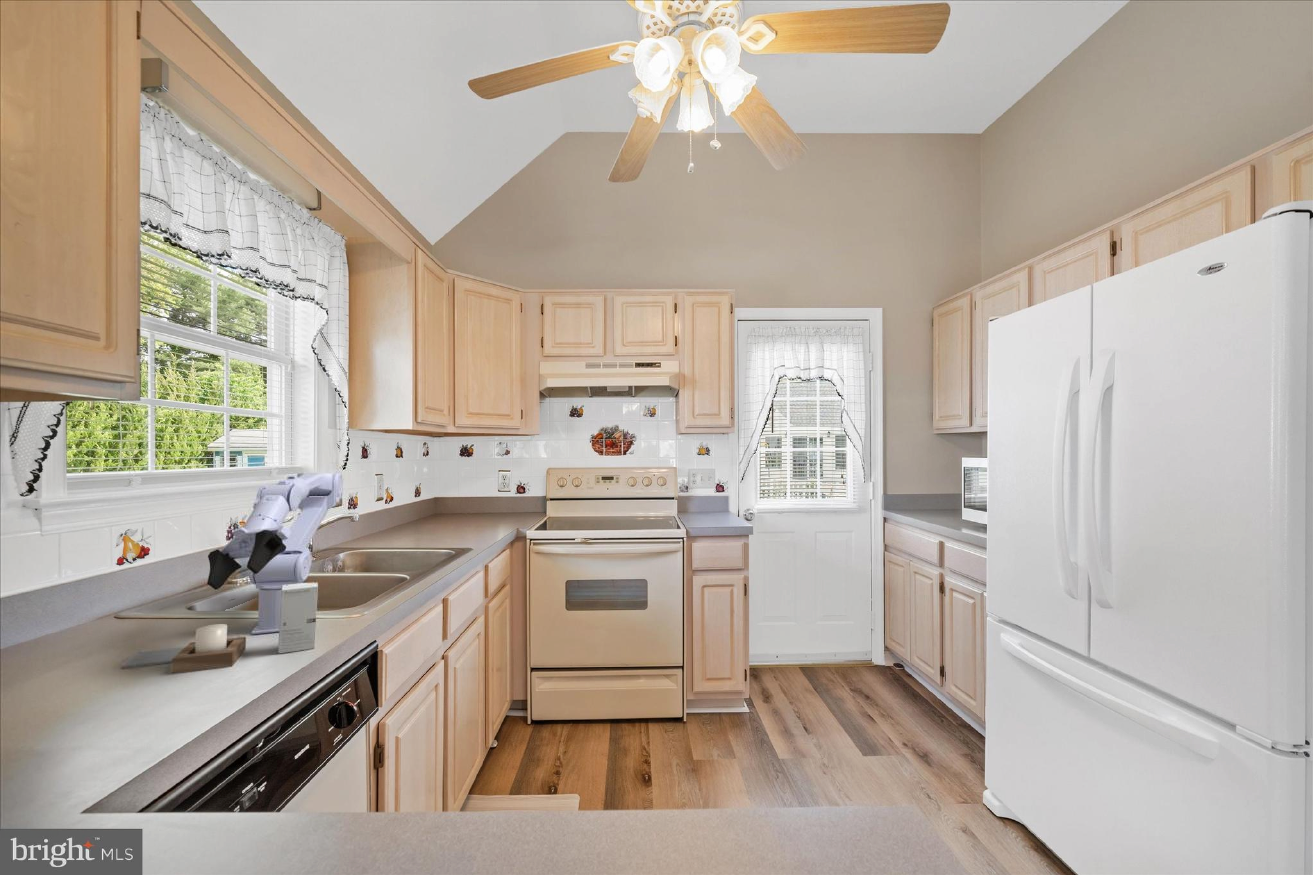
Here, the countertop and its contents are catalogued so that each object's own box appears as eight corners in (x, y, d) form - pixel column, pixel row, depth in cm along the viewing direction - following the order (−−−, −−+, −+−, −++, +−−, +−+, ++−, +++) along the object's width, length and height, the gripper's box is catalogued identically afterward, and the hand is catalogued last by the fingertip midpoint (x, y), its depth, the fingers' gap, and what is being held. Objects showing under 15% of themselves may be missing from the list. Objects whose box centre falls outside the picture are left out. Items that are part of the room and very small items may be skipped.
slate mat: (139, 654, 101) (139, 651, 101) (186, 648, 104) (187, 646, 104) (120, 668, 94) (120, 666, 94) (171, 662, 97) (171, 660, 97)
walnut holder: (190, 655, 100) (190, 642, 101) (245, 649, 104) (245, 636, 104) (171, 673, 93) (172, 658, 93) (231, 666, 96) (232, 652, 96)
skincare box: (277, 654, 102) (279, 590, 102) (278, 647, 106) (280, 584, 106) (316, 648, 105) (318, 585, 105) (315, 641, 109) (317, 580, 109)
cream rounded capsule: (199, 658, 99) (200, 625, 100) (229, 655, 101) (230, 622, 101) (190, 667, 95) (191, 633, 96) (221, 663, 97) (222, 630, 97)
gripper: (213, 527, 106) (177, 579, 95) (281, 499, 106) (253, 548, 94) (240, 550, 110) (208, 602, 99) (306, 523, 110) (282, 573, 98)
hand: (232, 578), depth 97 cm, fingers open, 7 cm apart
